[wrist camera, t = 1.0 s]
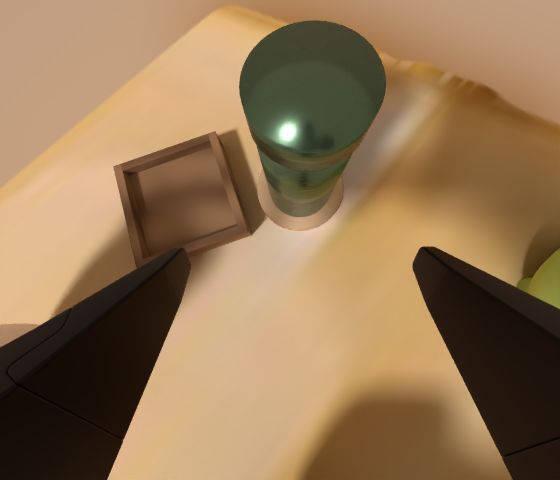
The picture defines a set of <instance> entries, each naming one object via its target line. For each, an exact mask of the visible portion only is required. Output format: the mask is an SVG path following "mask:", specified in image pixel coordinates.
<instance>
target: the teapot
mask: <svg viewBox="0 0 560 480" xmlns="http://www.w3.org/2000/svg"><path fill="white" fill-rule="evenodd" d="M517 288H518V289H520V290H522V291H524V292H526V293H528V294H530V295H532V296H534V297H536V298H539V299H541V300H543V301H545V302H547V303H549V304H551V305H553V306H555V307H557V308H559V309H560V248H559V249H558V250H557V251H555V252H554V253H553V254H552V255H551V256H550V257H549V258H548V259H547V260H546V261H545V262H544V263H543V264H542V265H541V266H540V268H539V269H538V270H537V271H536V273H535V274H534V276H533V278H532V277H525V278H523V279H521V280H520V281H519V282H518V284H517Z"/></svg>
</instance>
